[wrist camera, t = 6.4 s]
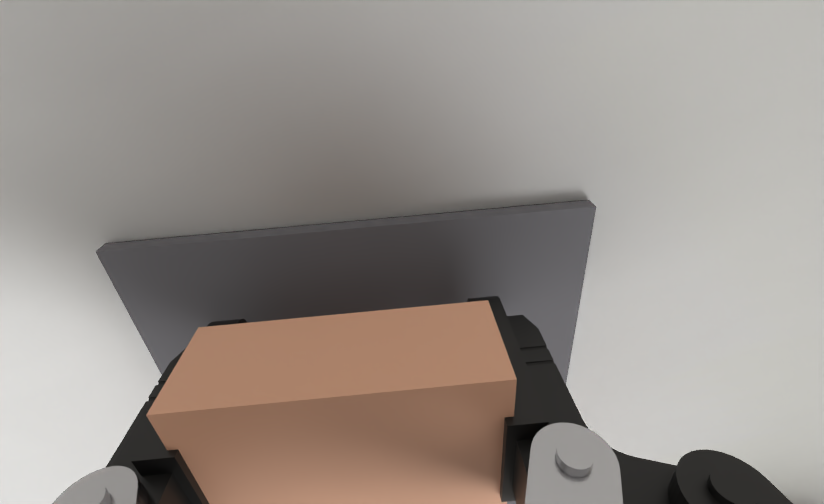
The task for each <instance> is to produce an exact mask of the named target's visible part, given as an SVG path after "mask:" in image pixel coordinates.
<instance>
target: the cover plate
mask: <svg viewBox="0 0 824 504" xmlns="http://www.w3.org/2000/svg"><path fill="white" fill-rule="evenodd" d="M516 384H517V378H516V376H515V373H514V370H513V367H512V365H511V362H510V359H509V356H508V354H507V351H506V348H505V345H504V343H503V340H502V337H501V334H500V332H499V329H498V326H497V323H496V321H495V318H494V315H493V312H492V310H491V307H490V304H489V301H488V300H485V301H474V302H464V303H453V304H442V305H432V306H421V307H410V308H400V309H389V310H378V311H368V312H357V313H346V314H336V315H325V316H314V317H304V318H293V319H282V320H272V321H261V322H250V323H240V324H229V325H218V326H208V327H198V329H197V331H196V332H195V334H194V336H193V337H192V339H191V341H190V342H189V344H188V346H187V347H186V349H185V351H184V352H183V354H182V356H181V357H180V359H179V361H178V362H177V364H176V366H175V367H174V369H173V371H172V373H171V374H170V376H169V378H168V379H167V381H166V383H165V384H164V386H163V388H162V389H161V391H160V393H159V394H158V396H157V398H156V399H155V401H154V403H153V404H152V406H151V408H150V409H149V411H148V413H147V415H146V416H147V418H148V419H149V421H150V423H151V424H152V426H153V428H154V429H155V431H156V433H157V434H158V436H159V438H160V439H161V441H162V443H163V444H164V446H165V448H166V449H167V450H177V449H178V450H179V452H180V454H181V455H182V457H183V459H184V460H185V462H186V464H187V466H188V467H189V469H190V471H191V473H192V474H193V476H194V478H195V480H196V481H197V483H198V485H199V486H200V488H201V490H202V492H203V493H204V495H205V497H206V499H207V500H208V502H209V504H507V502H501V498H500V481H501V465H502V450H503V434H504V418H505V417H514V409H515V397H516Z"/></svg>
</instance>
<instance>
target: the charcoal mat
mask: <svg viewBox="0 0 824 504" xmlns="http://www.w3.org/2000/svg"><path fill="white" fill-rule="evenodd" d="M595 210H596V206H595V205H594V204H593V203H592V202H591V201H589V200H584V201H573V202H562V203H551V204H539V205H528V206H517V207H506V208H495V209H484V210H473V211H462V212H451V213H440V214H428V215H417V216H406V217H395V218H384V219H373V220H362V221H351V222H340V223H329V224H317V225H306V226H295V227H284V228H273V229H262V230H251V231H240V232H229V233H218V234H206V235H195V236H184V237H173V238H162V239H151V240H140V241H129V242H118V243H106V244H104V245H103V246H102V247H101V248H100V249H98V250H97V251H96V253H97V255H98V257H99V259H100V261H101V263H102V264H103V266H104V268H105V270H106V272H107V274H108V276H109V277H110V279H111V281H112V283H113V285H114V287H115V289H116V290H117V292H118V294H119V296H120V298H121V300H122V302H123V303H124V305H125V307H126V309H127V311H128V313H129V315H130V317H131V318H132V320H133V322H134V324H135V326H136V328H137V330H138V331H139V333H140V335H141V337H142V339H143V341H144V343H145V344H146V346H147V348H148V350H149V352H150V354H151V356H152V357H153V359H154V361H155V363H156V365H157V367H158V369H159V370H160V372H161V374H162V375H163V373H164V371H165V370H166V368H167V366H168V365H169V363H170V362H171V361H172V360H173V359H174V358H175V357H176V356H178V355H179V354H180V353H181V352H182V351H183V350H184V349H185V348H186V347H187V346H188V344H189V342H190V341H191V339H192V337H193V336H194V334H195V332H196V331H197V329H198V327H207V326H208V324H209V323H211V322H214V321H225V320H235V319H245V320H246V321H247V322H248V323H250V322H261V321H272V320H282V319H293V318H304V317H314V316H325V315H336V314H346V313H357V312H368V311H378V310H389V309H400V308H410V307H421V306H432V305H442V304H453V303H464V302H467V300H468V298H479V297H490V296H499V298H500V300H501V302H502V305H503V307H504V310H505V312H506V315H507V316H514V315H524V316H525V317H526V318H527V319H528V320H529V321H530V322H532V323H533V324H534V325H535V326H536V327H537V328H538V329H539V331H540V333H541V335H542V337H543V339H544V341H545V343H546V345H547V349H549V351H550V354H551V356H552V358H553V361H554V364H556V366H557V368H558V370H559V372H560V374H561V376H562V378H563V380H564V382H565V384H566V380H567V374H568V368H569V362H570V356H571V350H572V345H573V339H574V333H575V327H576V321H577V315H578V309H579V304H580V298H581V292H582V286H583V280H584V274H585V268H586V263H587V257H588V251H589V245H590V239H591V233H592V227H593V222H594V216H595ZM507 504H516V501H508V502H507Z"/></svg>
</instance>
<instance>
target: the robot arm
mask: <svg viewBox="0 0 824 504" xmlns="http://www.w3.org/2000/svg"><path fill="white" fill-rule="evenodd" d="M485 300H488V301H489V304H490V307H491V310H492V312H493V315H494V318H495V321H496V323H497V326H498V329H499V332H500V334H501V337H502V340H503V343H504V345H505V348H506V351H507V354H508V356H509V359H510V362H511V365H512V367H513V370H514V373H515V376H516V378H517V384H516V397H515V409H514V417H505V418H504V434H503V450H502V465H501V481H500V498H501V502H508V501H516V504H793V503H792V502H790V501H789V500H788V499H787V498H786V497H785V496H784V495H783V494H782V493H781V492H780V491H779V490H778V489H777V488H776V487H775V486H774V485H773V484H772V483H771V482H770V481H769V480H768V479H766V478H765V477H764V476H763V475H762V474H761V473H760V472H758V471H757V470H756V469H754V468H753V467H751V466H750V465H748V464H747V463H745V462H743V461H742V460H740V459H737V458H735V457H733V456H731V455H728V454H725V453H722V452H718V451H713V450H696V451H691V452H689V453H687V454H685V455H684V456H683V457H682V458H681V459H680V461H679V462H678V464H677V466H675V465H671V464H666V463H661V462H656V461H651V460H646V459H642V458H637V457H633V456H629V455H626V454H623V453H621V452H618V451H616V450H614V449H612V448H611V447H610V446H609V445H608V443H607V442H606V441H605V440H604V439H603V438H601V437H600V436H599V435H597V434H596V433H595V432H593V431H591V430H590V429H588V427H587V426H586V425H585V423H584V421H583V419H582V417H581V415H580V413H579V411H578V409H577V407H576V405H575V403H574V401H573V399H572V397H571V395H570V393H569V391H568V389H567V387H566V384H565V382H564V380H563V378H562V376H561V374H560V372H559V370H558V368H557V366H556V364H554V361H553V358H552V356H551V354H550V351H549V349H547V345H546V343H545V341H544V339H543V337H542V335H541V333H540V331H539V329H538V328H537V327H536V326H535V325H534V324H533V323H532V322H530V321H529V320H528V319H527V318H526V317H525V316H524V315H514V316H507V315H506V312H505V310H504V307H503V305H502V302H501V300H500V298H499V296H490V297H479V298H468V300H467V302H474V301H485ZM240 323H248V322H247V321H246V320H245V319H235V320H225V321H214V322H211V323H209V324H208V326H218V325H229V324H240ZM208 326H207V327H208ZM185 349H186V348H185ZM185 349H184V350H183V351H182V352H181V353H180V354H179V355H178V356H176V357H175V358H174V359H173V360H172V361H171V362H170V363H169V365H168V366H167V368H166V370H165V371H164V373H163V375H162V376H161V378H160V380H159V381H158V382H159V384H158V385H156V386H155V388H154V389H153V391H152V393H151V394H150V396H149V401H147V402H145V404H144V406H143V407H142V409H141V411H140V412H139V414H138V416H137V417H136V419H135V420H134V422H133V424H132V425H131V427H130V429H129V430H128V432H127V434H126V435H125V437H124V439H123V440H122V442H121V443H120V445H119V447H118V448H117V450H116V452H115V453H114V455H113V457H112V458H111V460H110V461H109V463H108V465H107V466H106V468H102V469H99V470H97V471H94V472H92V473H90V474H88V475H86V476H85V477H83V478H81V479H80V480H78V481H77V482H75V483H74V484H72V485H71V486H70V487H69V488H67V489H66V490H65V491H64V492H63V493H62V494H61V495H60V496H59V497H58V498H57V499H56V500H55V501H54V502H53V503H52V504H209V502H208V500H207V499H206V497H205V495H204V493H203V492H202V490H201V488H200V486H199V485H198V483H197V481H196V480H195V478H194V476H193V474H192V473H191V471H190V469H189V467H188V466H187V464H186V462H185V460H184V459H183V457H182V455H181V454H180V452H179V450H178V449H177V450H167V449H166V448H165V446H164V444H163V443H162V441H161V439H160V438H159V436H158V434H157V433H156V431H155V429H154V428H153V426H152V424H151V423H150V421H149V419H148V418H147V416H146V415H147V413H148V411H149V409H150V408H151V406H152V404H153V403H154V401H155V399H156V398H157V396H158V394H159V393H160V391H161V389H162V388H163V386H164V384H165V383H166V381H167V379H168V378H169V376H170V374H171V373H172V371H173V369H174V367H175V366H176V364H177V362H178V361H179V359H180V357H181V356H182V354H183V352H184V351H185Z"/></svg>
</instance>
